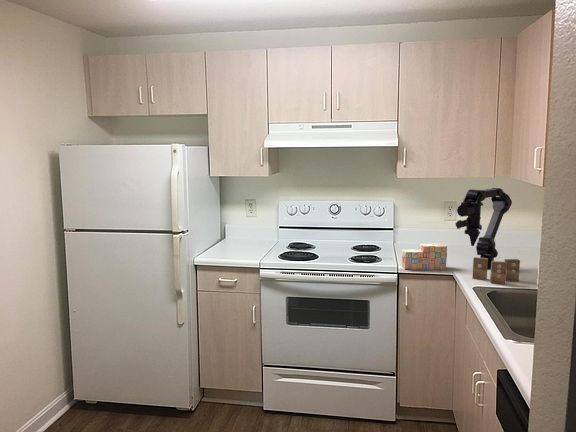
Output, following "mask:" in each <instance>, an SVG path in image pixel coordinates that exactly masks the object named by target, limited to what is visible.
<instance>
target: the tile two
mask: <svg viewBox="0 0 576 432" xmlns="http://www.w3.org/2000/svg"><path fill="white" fill-rule="evenodd" d="M504 262H506V263H507V264H506V280H505V282H519V281H520V278H519V277H520V265H521V260H520V259H517V258H505V259H504Z"/></svg>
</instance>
